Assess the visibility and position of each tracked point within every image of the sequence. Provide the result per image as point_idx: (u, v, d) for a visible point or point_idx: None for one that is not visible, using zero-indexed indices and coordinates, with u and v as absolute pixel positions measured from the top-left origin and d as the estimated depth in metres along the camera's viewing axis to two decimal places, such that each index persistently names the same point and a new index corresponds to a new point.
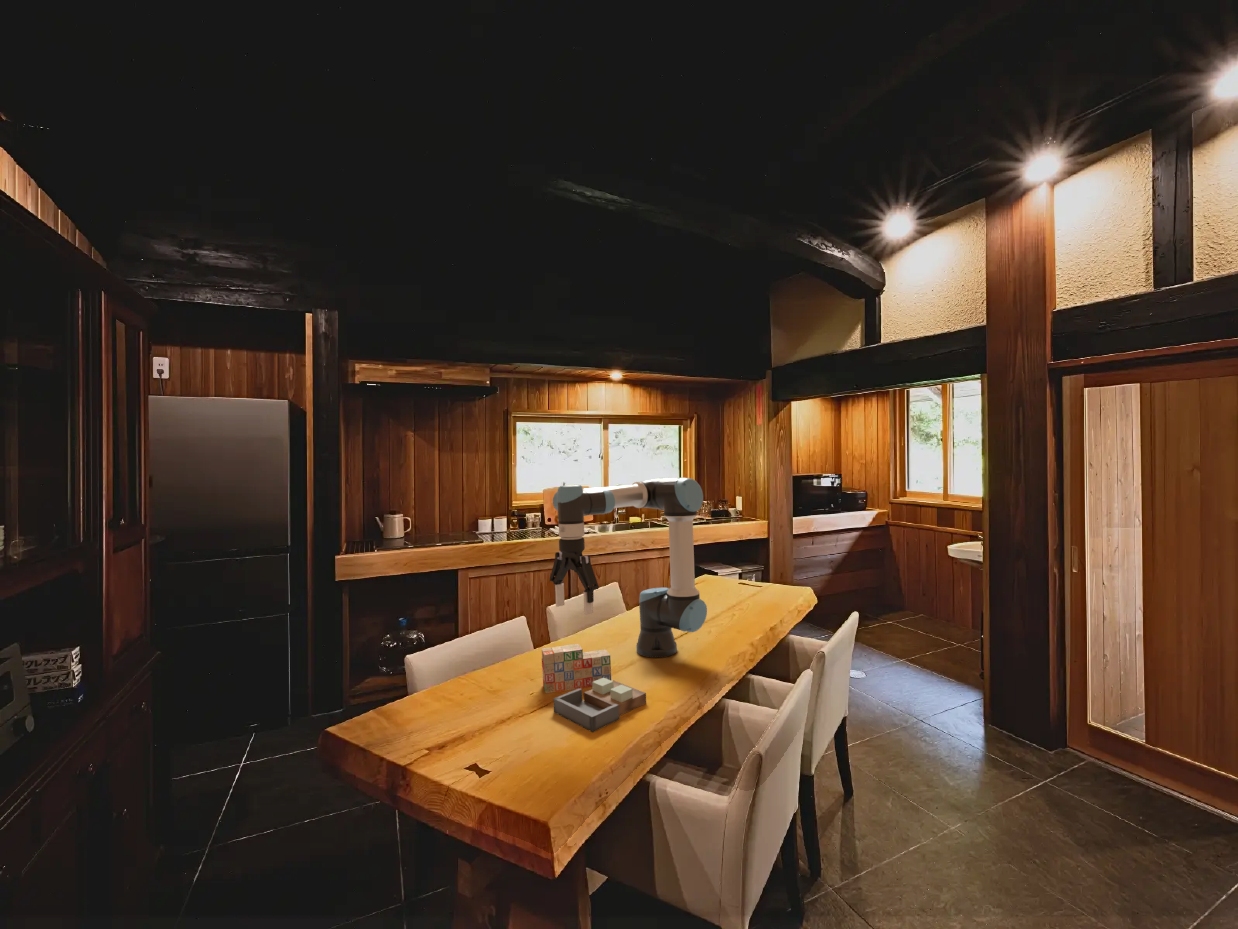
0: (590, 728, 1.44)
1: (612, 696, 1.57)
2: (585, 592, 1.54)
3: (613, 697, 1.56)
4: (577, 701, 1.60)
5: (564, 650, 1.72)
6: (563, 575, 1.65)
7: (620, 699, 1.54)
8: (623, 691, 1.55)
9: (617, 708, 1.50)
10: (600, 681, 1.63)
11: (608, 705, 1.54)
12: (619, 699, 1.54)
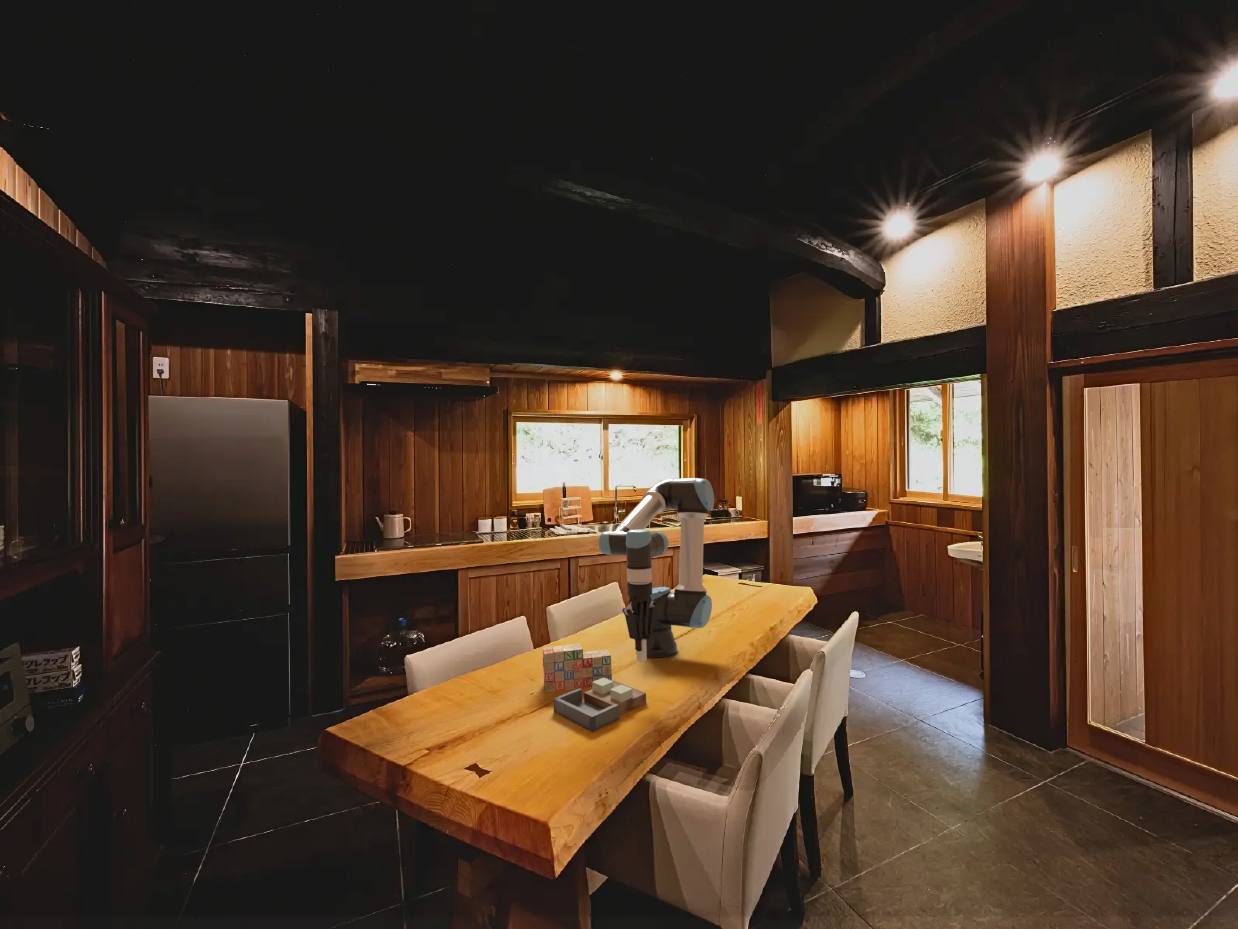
0: (590, 728, 1.44)
1: (612, 696, 1.57)
2: None
3: (613, 697, 1.56)
4: (577, 701, 1.60)
5: (564, 649, 1.73)
6: (643, 625, 1.63)
7: (620, 699, 1.54)
8: (623, 691, 1.55)
9: (617, 708, 1.50)
10: (600, 681, 1.63)
11: (608, 705, 1.54)
12: (619, 699, 1.54)
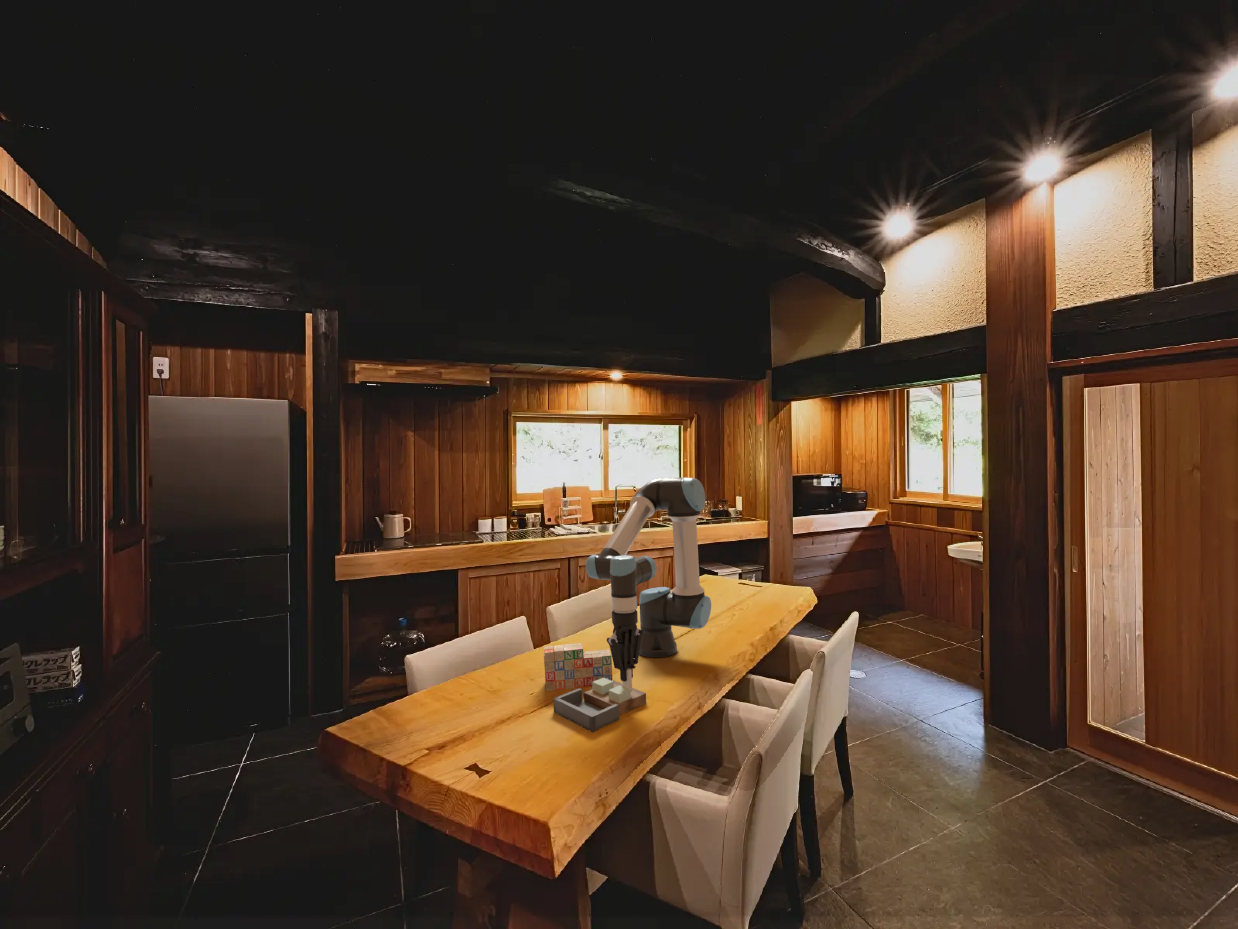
0: (590, 728, 1.44)
1: (610, 697, 1.56)
2: None
3: (611, 698, 1.56)
4: (577, 701, 1.60)
5: (565, 649, 1.74)
6: (628, 654, 1.59)
7: (618, 700, 1.54)
8: (621, 692, 1.55)
9: (617, 708, 1.50)
10: (600, 681, 1.63)
11: (608, 705, 1.54)
12: (617, 700, 1.54)
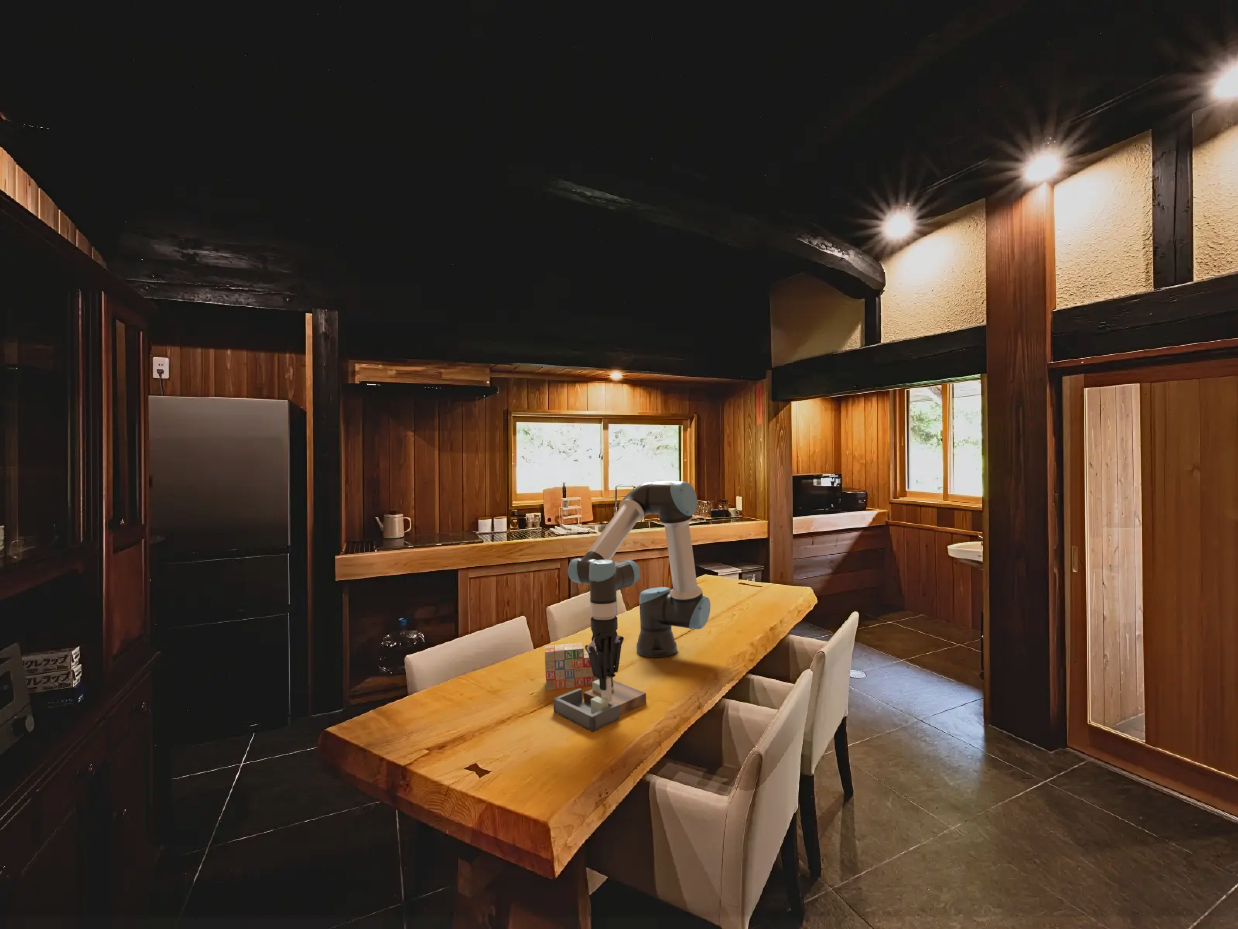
0: (590, 728, 1.44)
1: None
2: None
3: None
4: (577, 701, 1.60)
5: (565, 648, 1.74)
6: (608, 662, 1.53)
7: None
8: None
9: (617, 708, 1.50)
10: None
11: (608, 705, 1.54)
12: None
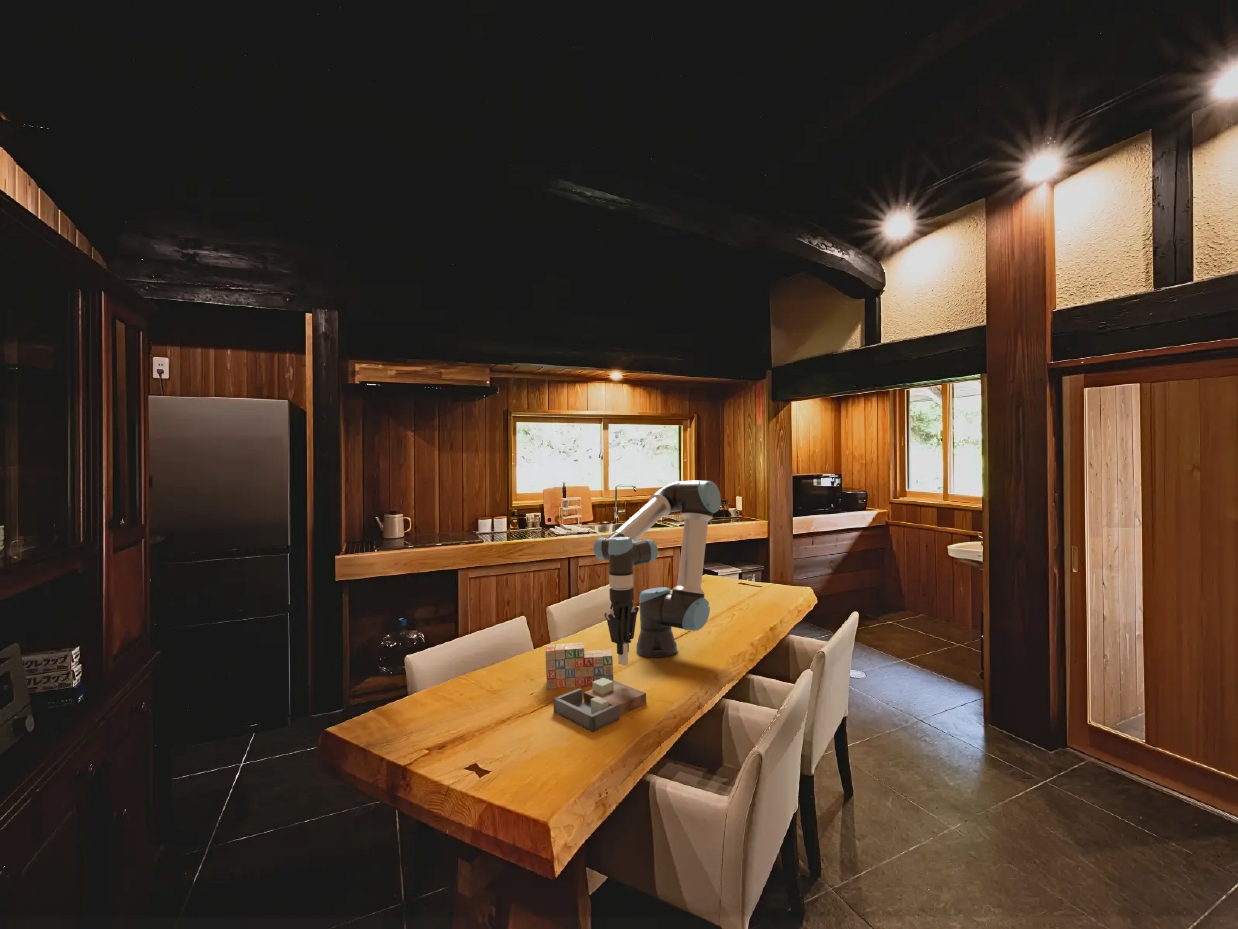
0: (590, 728, 1.44)
1: None
2: None
3: None
4: (577, 701, 1.60)
5: (566, 648, 1.75)
6: (624, 629, 1.69)
7: None
8: None
9: (617, 708, 1.50)
10: (600, 681, 1.63)
11: (608, 705, 1.54)
12: None
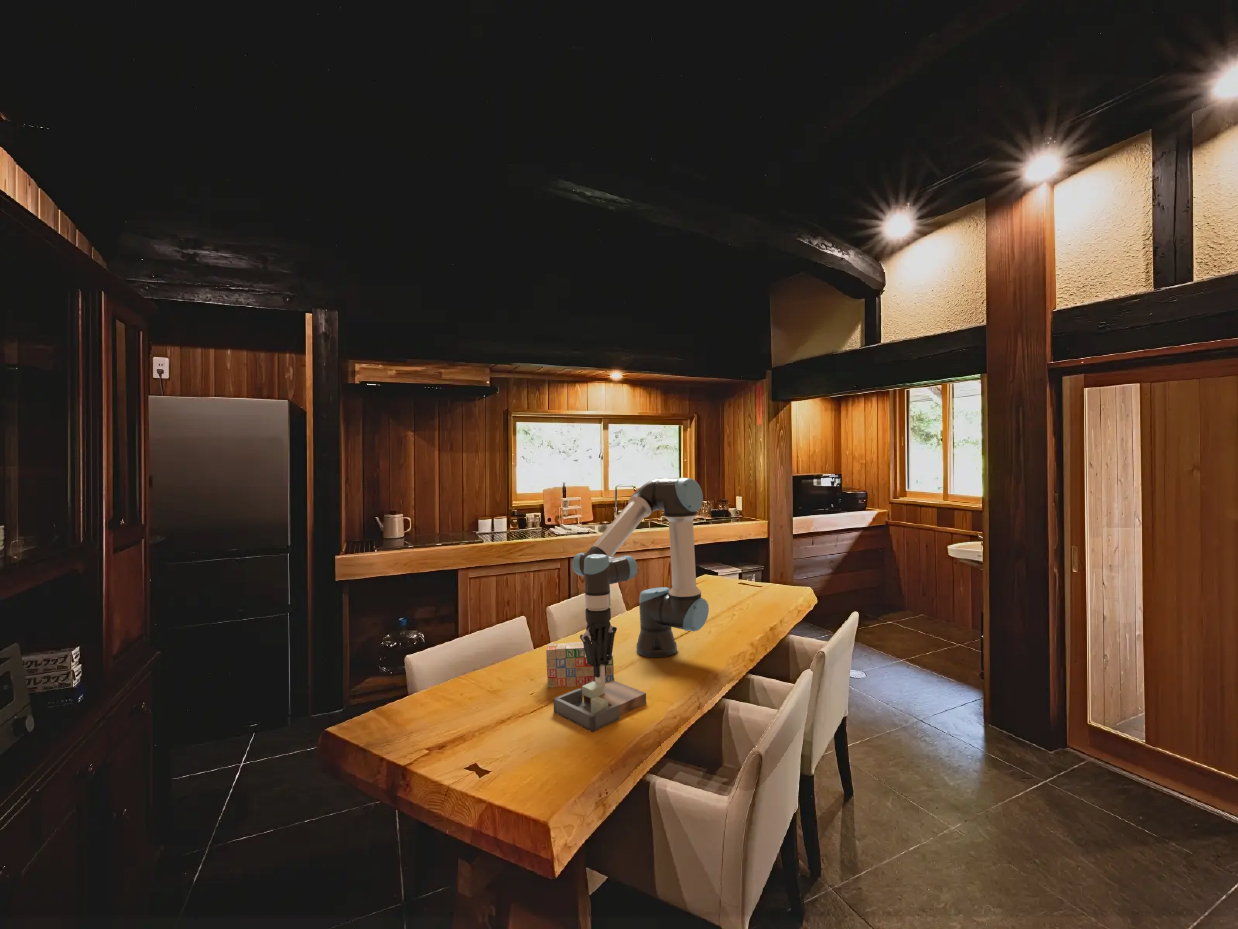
0: (590, 728, 1.44)
1: None
2: None
3: None
4: (577, 701, 1.60)
5: (567, 647, 1.75)
6: (601, 651, 1.62)
7: None
8: None
9: (617, 708, 1.50)
10: (590, 685, 1.60)
11: (608, 705, 1.54)
12: None
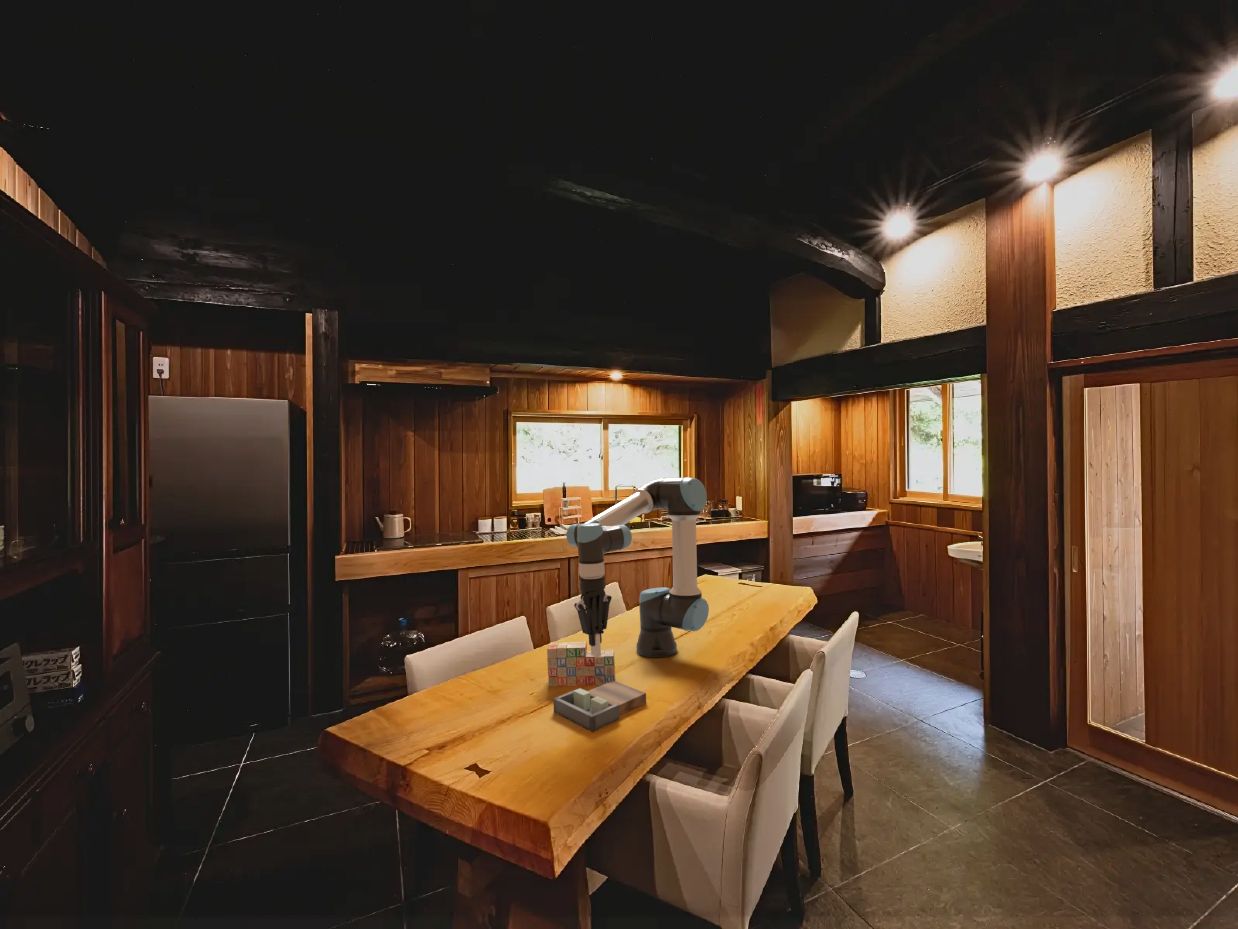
0: (590, 728, 1.44)
1: None
2: None
3: None
4: None
5: (568, 646, 1.76)
6: (596, 619, 1.61)
7: None
8: None
9: (617, 708, 1.50)
10: (577, 701, 1.57)
11: (608, 705, 1.54)
12: None
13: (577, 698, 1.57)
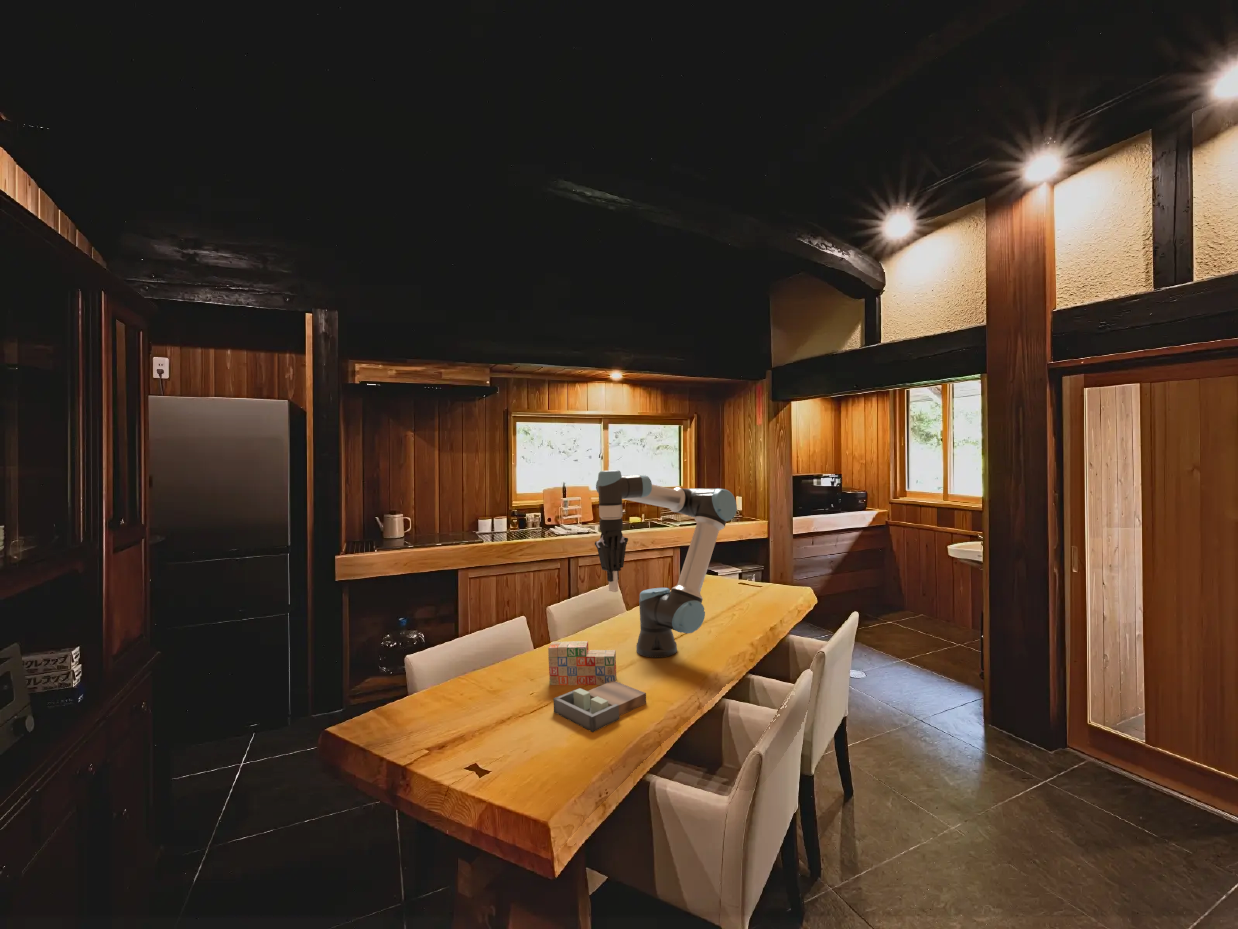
0: (590, 728, 1.44)
1: None
2: None
3: None
4: None
5: (569, 646, 1.77)
6: (614, 558, 1.76)
7: None
8: None
9: (617, 708, 1.50)
10: (577, 701, 1.57)
11: (608, 705, 1.54)
12: None
13: (577, 698, 1.57)
